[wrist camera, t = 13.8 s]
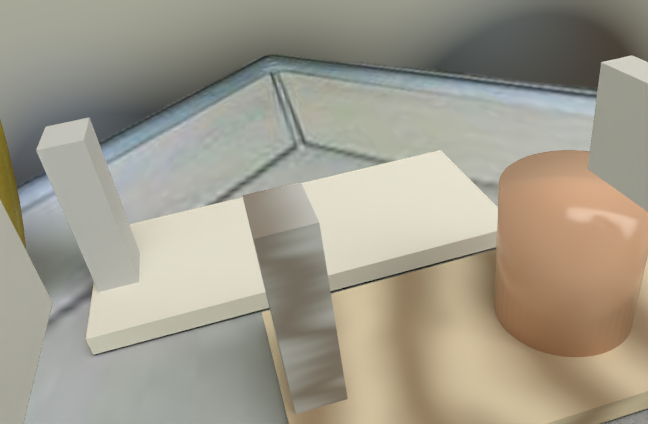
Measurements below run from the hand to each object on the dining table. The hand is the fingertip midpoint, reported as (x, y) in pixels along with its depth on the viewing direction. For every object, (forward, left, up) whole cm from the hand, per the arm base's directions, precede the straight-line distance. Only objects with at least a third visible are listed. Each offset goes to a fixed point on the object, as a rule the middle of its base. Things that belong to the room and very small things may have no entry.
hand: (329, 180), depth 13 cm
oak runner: (-14, -13, -22) cm, 29 cm away
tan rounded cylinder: (-16, -13, -20) cm, 28 cm away
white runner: (-2, -29, -22) cm, 36 cm away
